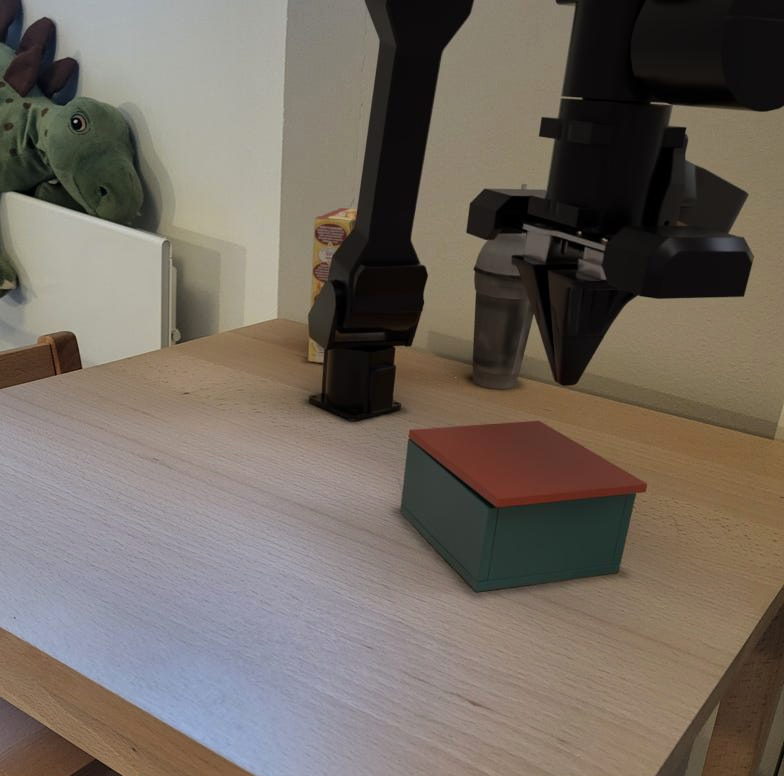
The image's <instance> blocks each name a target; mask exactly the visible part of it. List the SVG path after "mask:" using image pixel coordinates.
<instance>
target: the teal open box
mask: <svg viewBox="0 0 784 776" xmlns="http://www.w3.org/2000/svg"><path fill="white" fill-rule="evenodd" d="M403 474H404V475H403V483H402V484H403V486H402V491H401V492H402V494H401V504H400V510H399V511H400V512H399V513H401V515H402V516H403V517H404V518H405V519H406V520H407V521H408V522H409V524H411V525H412V526H413V528H414V529H416V530H417V531H418V533H420V535H421V536H422V537H423V538H424V539H425V540H426V541H427V542H428V543H429V544H430V545H431V546H432V548H434V550H436V552H438V554H439V555H440V556H441V557H442V558H443V559H444V560H445V561H446V562H447V563H448V564H449V565H450V566H451V567H452V568H453V569H454V571H456V573H457V574H458V575H459V576H460V577H461V578H462V579H463V580H464V581H465V582H466V583H467V584H468V585H469V587H471V588H472V589H473V591H474V592H476V593H479V592H486V591H493V590H502V589H508V588H509V589H510V588H517V587H523V586H532V585H537V584H545V583H546V584H547V583H552V582H553V583H554V582H561V581H569V580H576V579H583V578H591V577H597V576H607V575H613V574H618V573H619V572H620V567H621V563H622V560H623V554H624V552H625V551H624V550H625V545H626V541H627V536H628V533H629V528H630V524H631V519H632V515H633V509H634V506H635V502H636V497H637V493H634V494H624V495H614V496H604V497H595V498H585V499H575V500H566V501H556V502H546V503H537V504H527V505H517V506H508V507H498V508H497V507H495V506H494V505H493V504H492V503H490V502H489V501H488V500H486V499H485V498H484V497H483V496H481V495H480V494H479V493H478V492H476V491H475V490H474V489H473V488H471V487H470V486H469V485H468V484H466V483H465V482H464V481H463V480H461V479H460V478H459V477H458V476H456V475H455V474H454V473H452V472H451V471H450V470H449V469H447V468H446V467H445V466H444V465H442V464H441V463H440V462H439V461H437V460H436V459H435V458H434V457H432V456H431V455H430V454H429V453H427V452H426V451H425V450H424V449H422V448H421V447H420V446H419V445H417V444H416V443H415V442H413V441H412V440H411V439H410V438H408V439H407V446H406V455H405V466H404V473H403Z"/></svg>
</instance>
